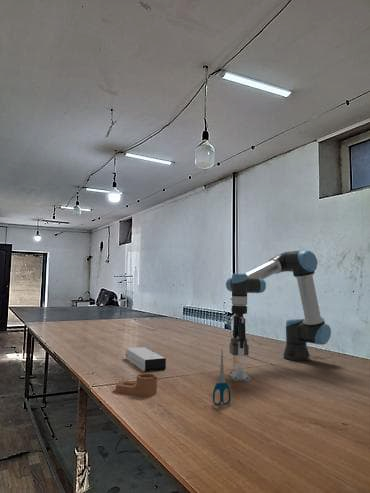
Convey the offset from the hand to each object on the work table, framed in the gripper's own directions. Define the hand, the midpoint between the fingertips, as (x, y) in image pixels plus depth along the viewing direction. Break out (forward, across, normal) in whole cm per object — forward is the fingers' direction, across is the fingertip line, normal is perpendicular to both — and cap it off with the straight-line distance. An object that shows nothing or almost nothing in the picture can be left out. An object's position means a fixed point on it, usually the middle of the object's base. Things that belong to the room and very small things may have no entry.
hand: (238, 353), depth 175 cm
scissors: (+12, +37, -16) cm, 42 cm away
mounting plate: (+11, 0, 0) cm, 11 cm away
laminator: (+12, -30, -45) cm, 56 cm away
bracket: (+12, +19, -48) cm, 53 cm away
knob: (0, 0, 0) cm, 0 cm away
